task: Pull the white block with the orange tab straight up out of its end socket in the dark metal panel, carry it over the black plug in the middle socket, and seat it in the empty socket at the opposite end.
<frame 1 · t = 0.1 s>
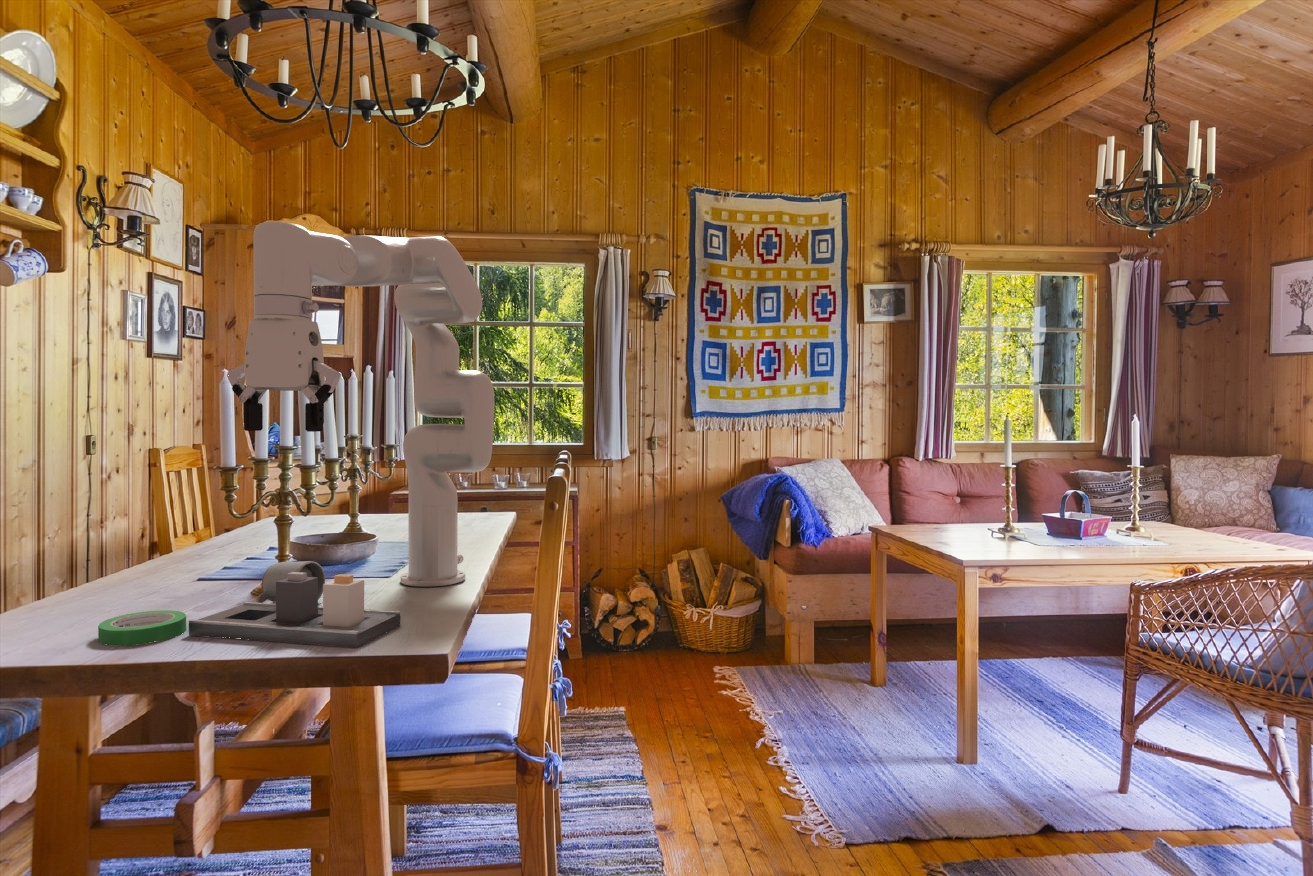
hand: (283, 431, 111), 31 cm above the table, tool pointing down, fingers open, 9 cm apart
ceramic mug: (288, 606, 136), on the table
panel: (297, 630, 120), on the table
white block orange tab: (343, 634, 118), resting in panel
black plug: (297, 631, 120), resting in panel
tape roll: (143, 638, 117), on the table
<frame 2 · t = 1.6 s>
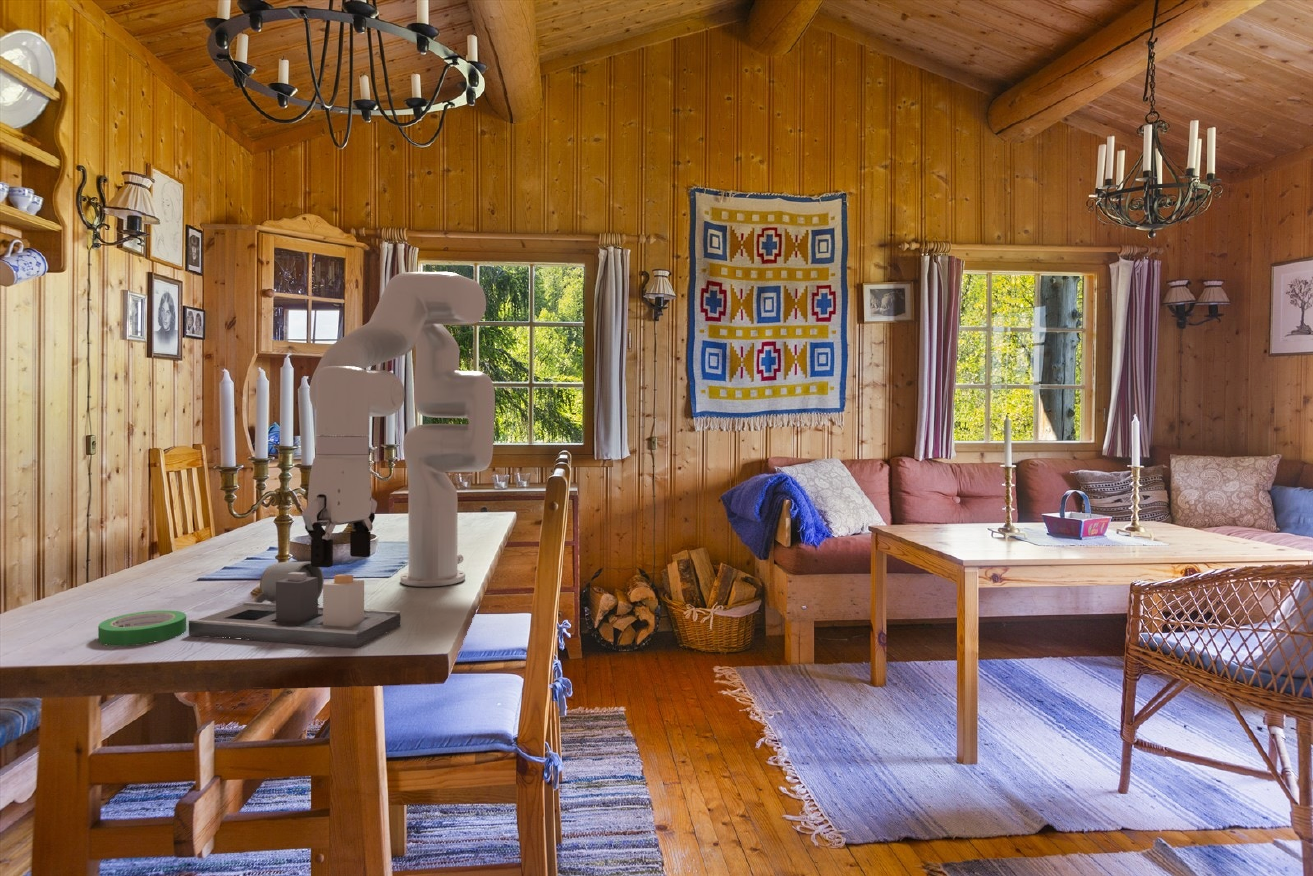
hand: (341, 561, 117), 11 cm above the table, tool pointing down, fingers open, 9 cm apart
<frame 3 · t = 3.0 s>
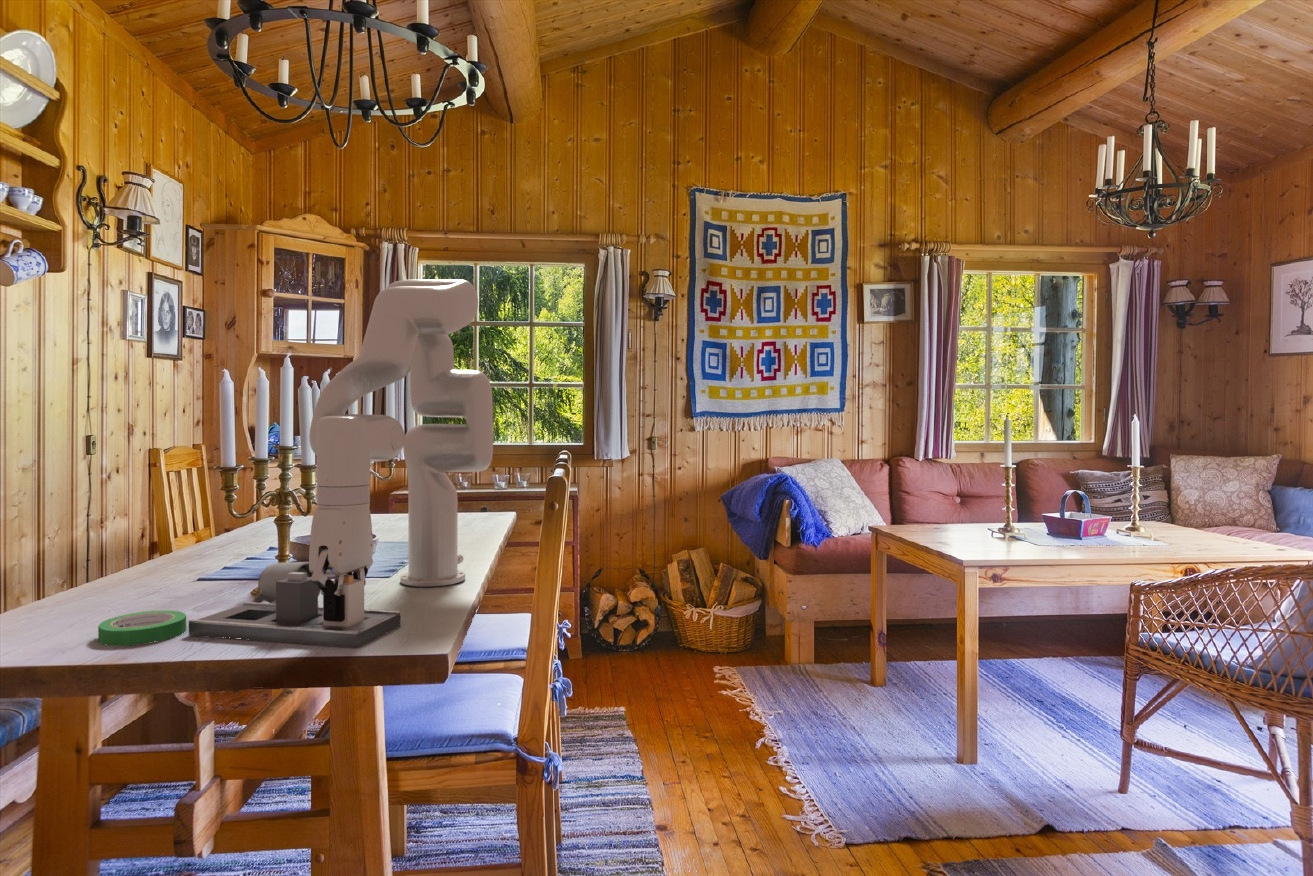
hand: (343, 615, 118), 3 cm above the table, tool pointing down, fingers closed on white block orange tab, 4 cm apart
white block orange tab: (344, 634, 118), resting in panel, touching gripper
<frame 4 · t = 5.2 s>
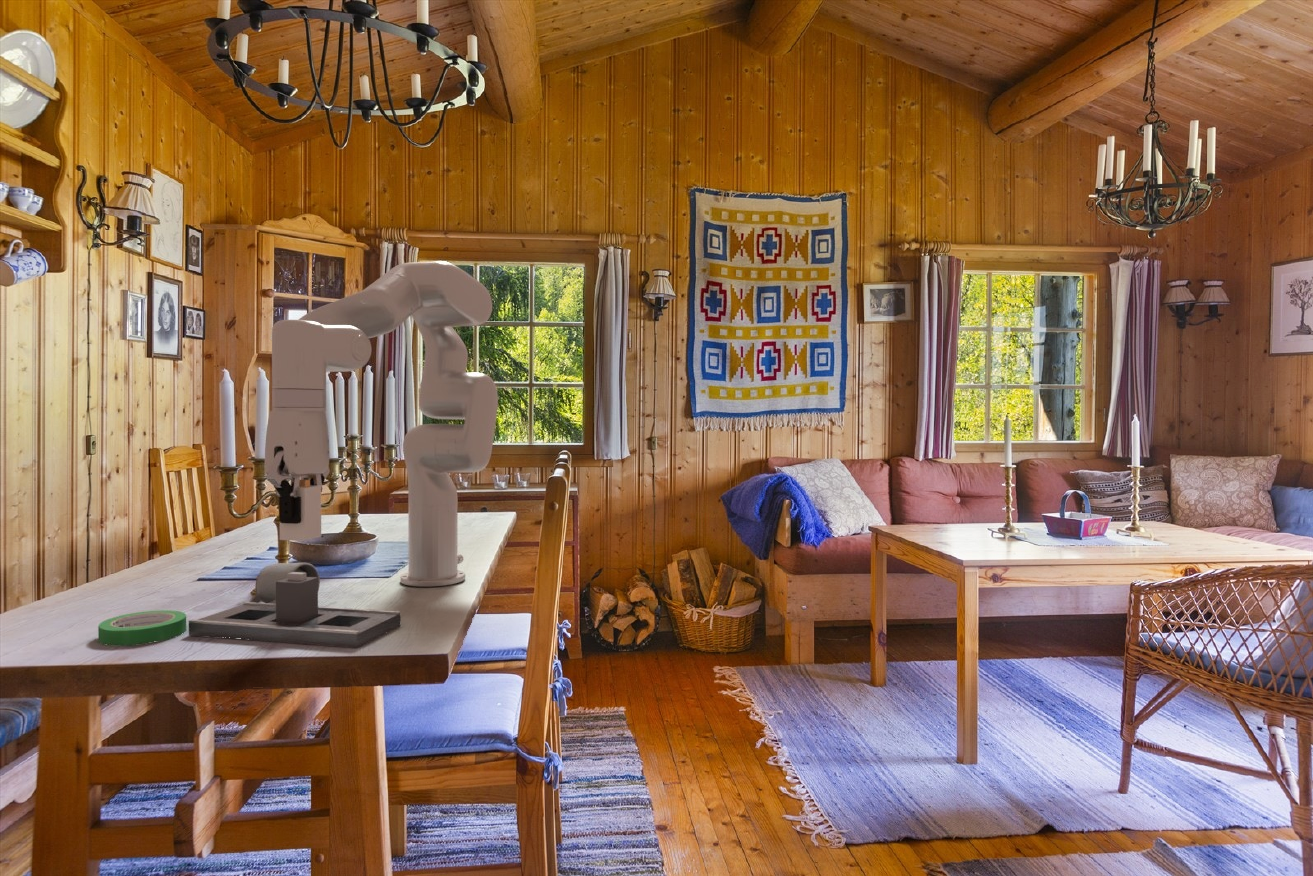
hand: (300, 519, 119), 17 cm above the table, tool pointing down, fingers closed on white block orange tab, 4 cm apart
white block orange tab: (300, 538, 119), point 14 cm above the table, touching gripper
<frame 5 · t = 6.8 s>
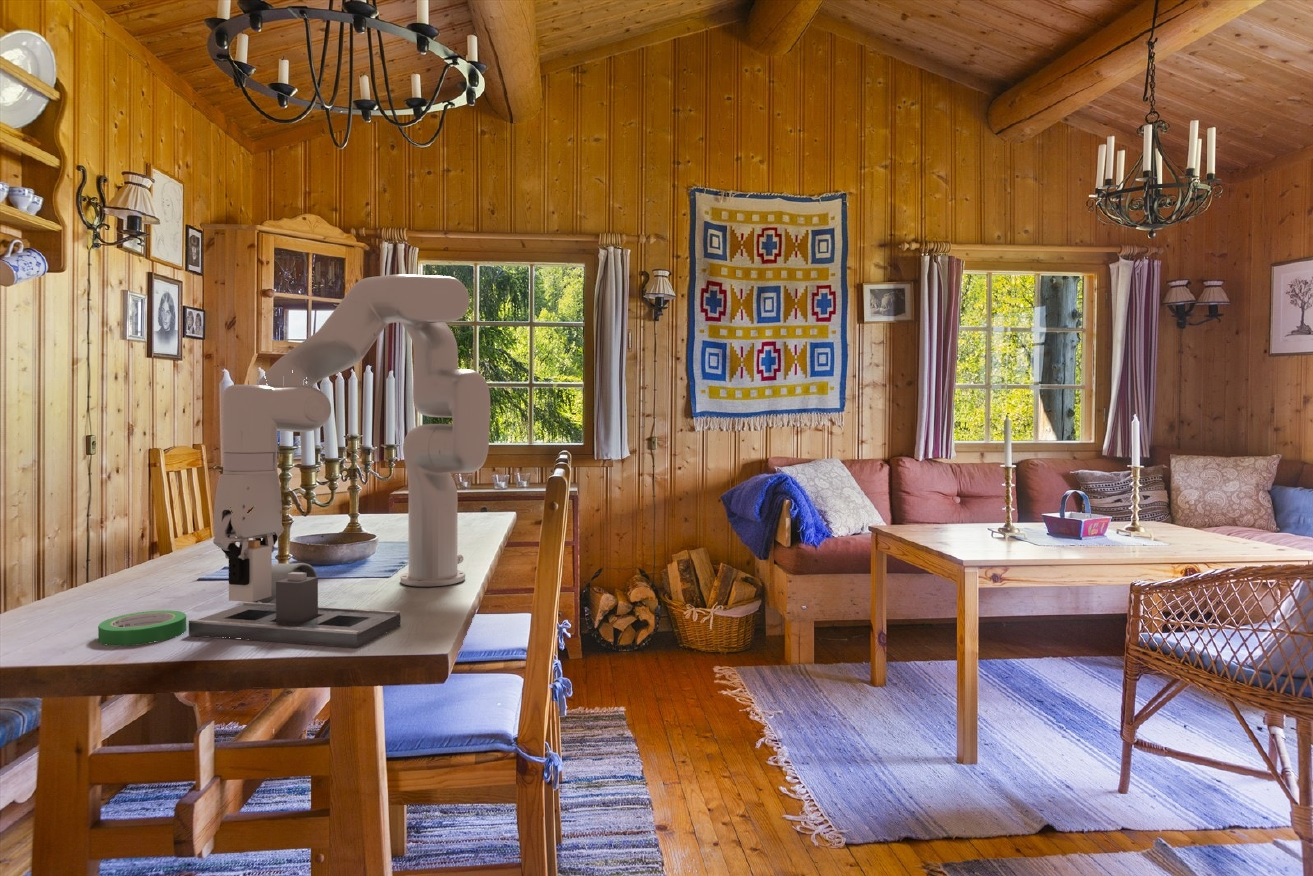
hand: (250, 580, 121), 8 cm above the table, tool pointing down, fingers closed on white block orange tab, 4 cm apart
white block orange tab: (250, 598, 121), point 5 cm above the table, touching gripper
when the fingers open (4 cm above the table, at t = 7.8 s): white block orange tab drops 1 cm, resting in panel.
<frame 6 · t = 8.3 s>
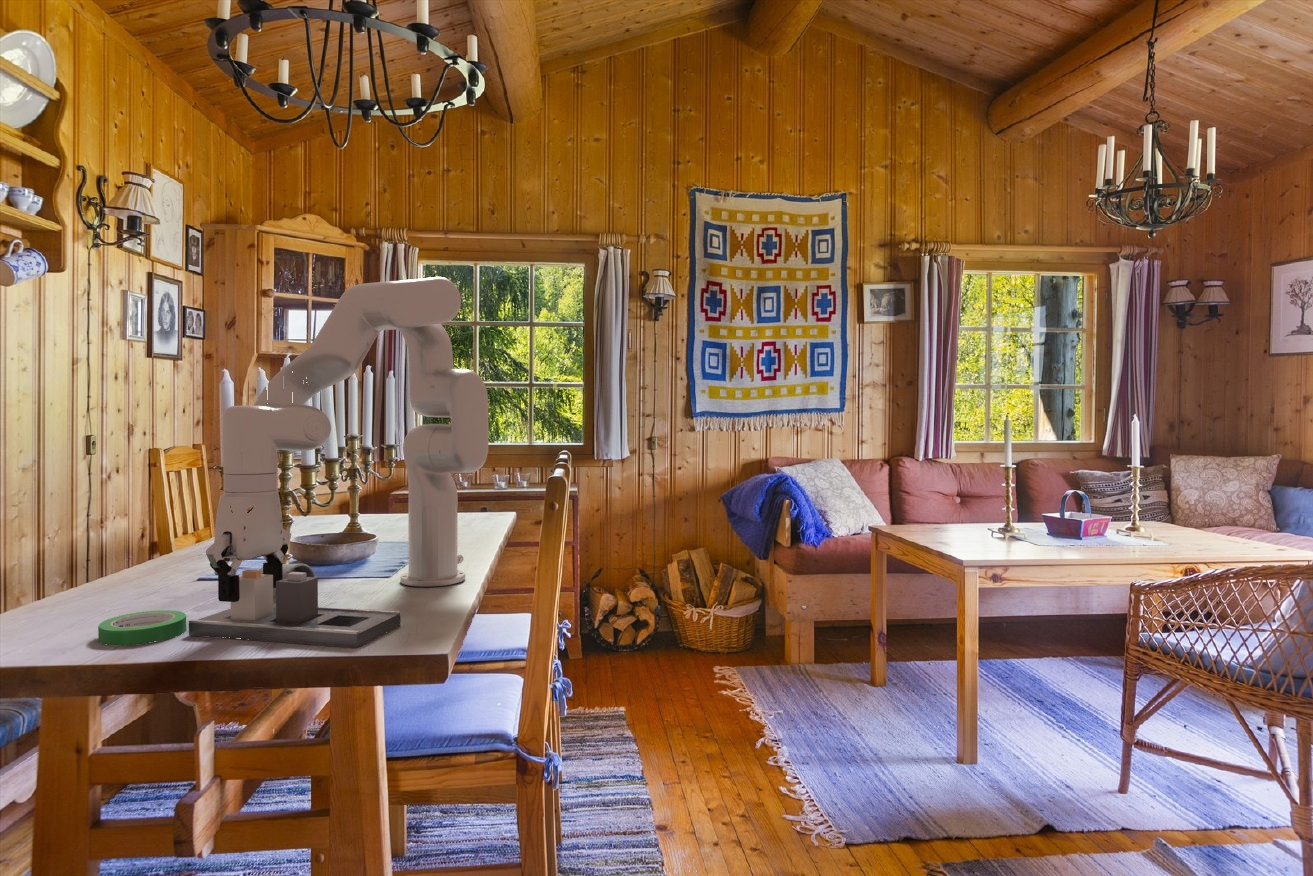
hand: (251, 594, 121), 5 cm above the table, tool pointing down, fingers open, 9 cm apart
white block orange tab: (252, 627, 121), resting in panel
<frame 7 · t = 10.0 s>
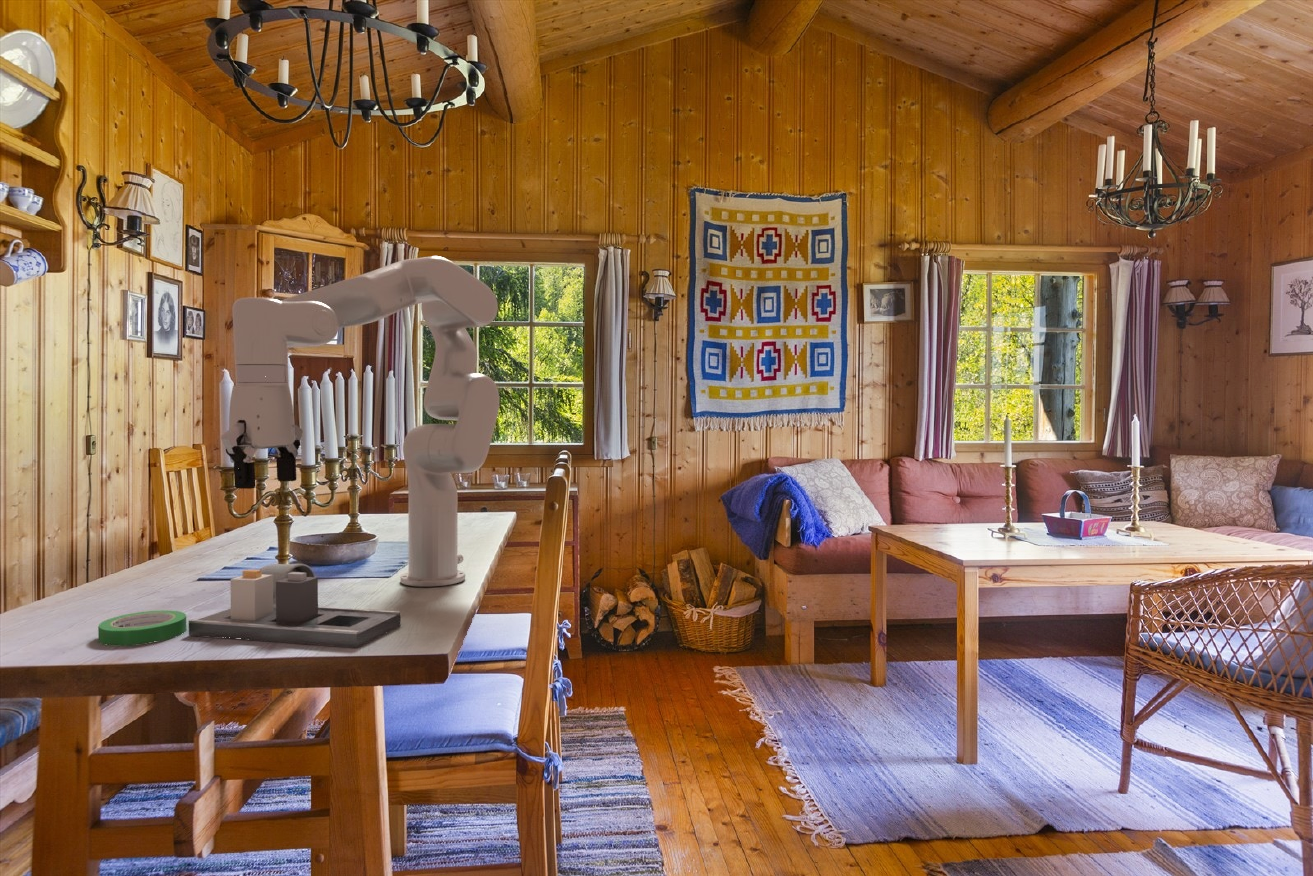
hand: (266, 484, 124), 22 cm above the table, tool pointing down, fingers open, 9 cm apart
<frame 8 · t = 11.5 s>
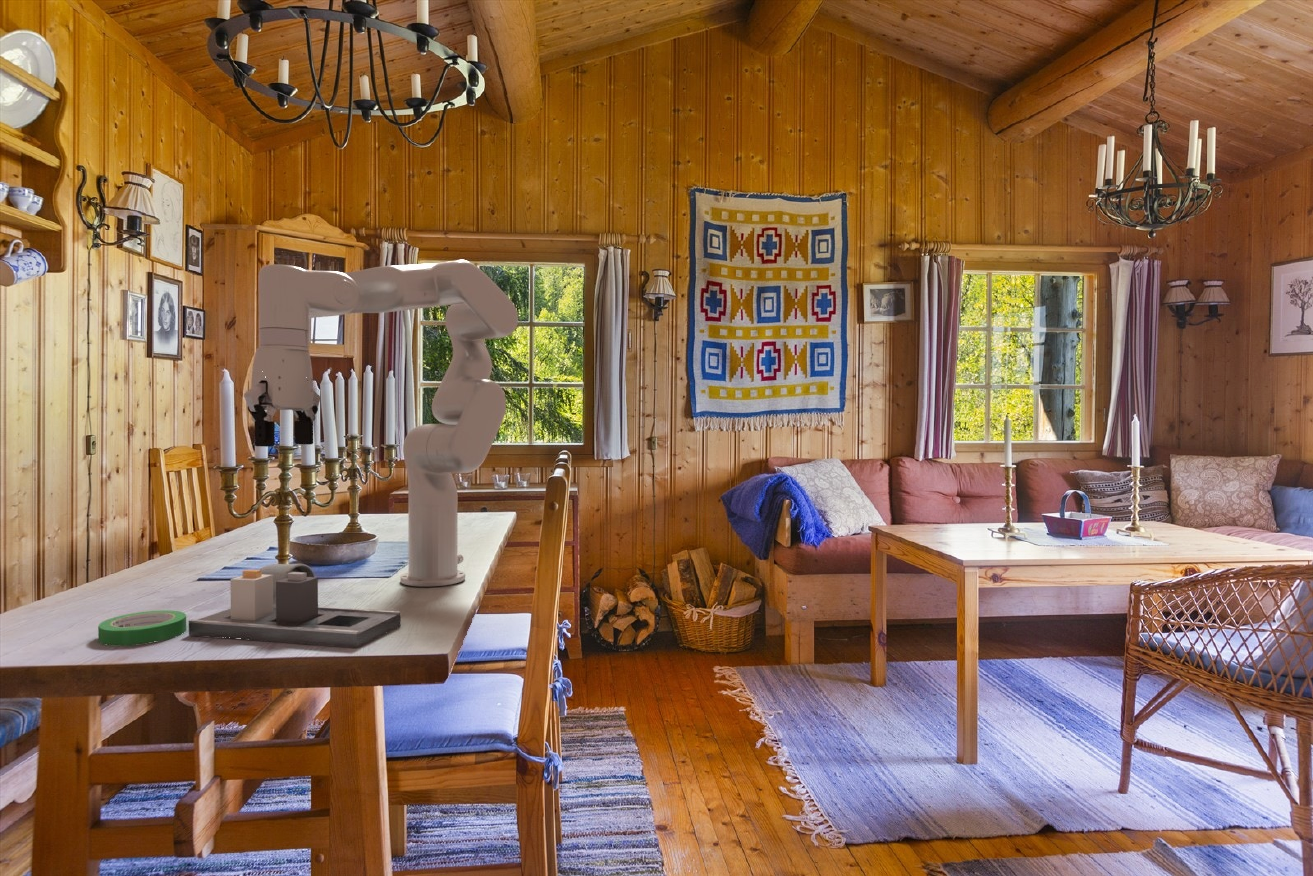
hand: (285, 445, 128), 28 cm above the table, tool pointing down, fingers open, 9 cm apart
at the end: white block orange tab 0.1 cm from the target spot on the panel, point 0.0 cm above the panel's base; white block orange tab tilted 0°; black plug moved 0.0 cm from its start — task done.
